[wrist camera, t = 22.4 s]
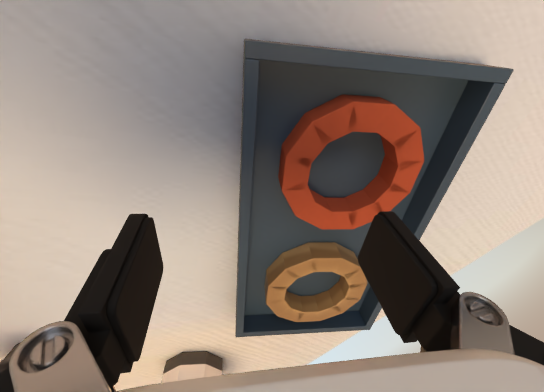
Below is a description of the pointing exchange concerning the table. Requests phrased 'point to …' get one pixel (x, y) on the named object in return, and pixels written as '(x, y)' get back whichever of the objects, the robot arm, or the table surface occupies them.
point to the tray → (342, 159)
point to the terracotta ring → (337, 123)
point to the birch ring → (309, 261)
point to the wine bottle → (192, 366)
